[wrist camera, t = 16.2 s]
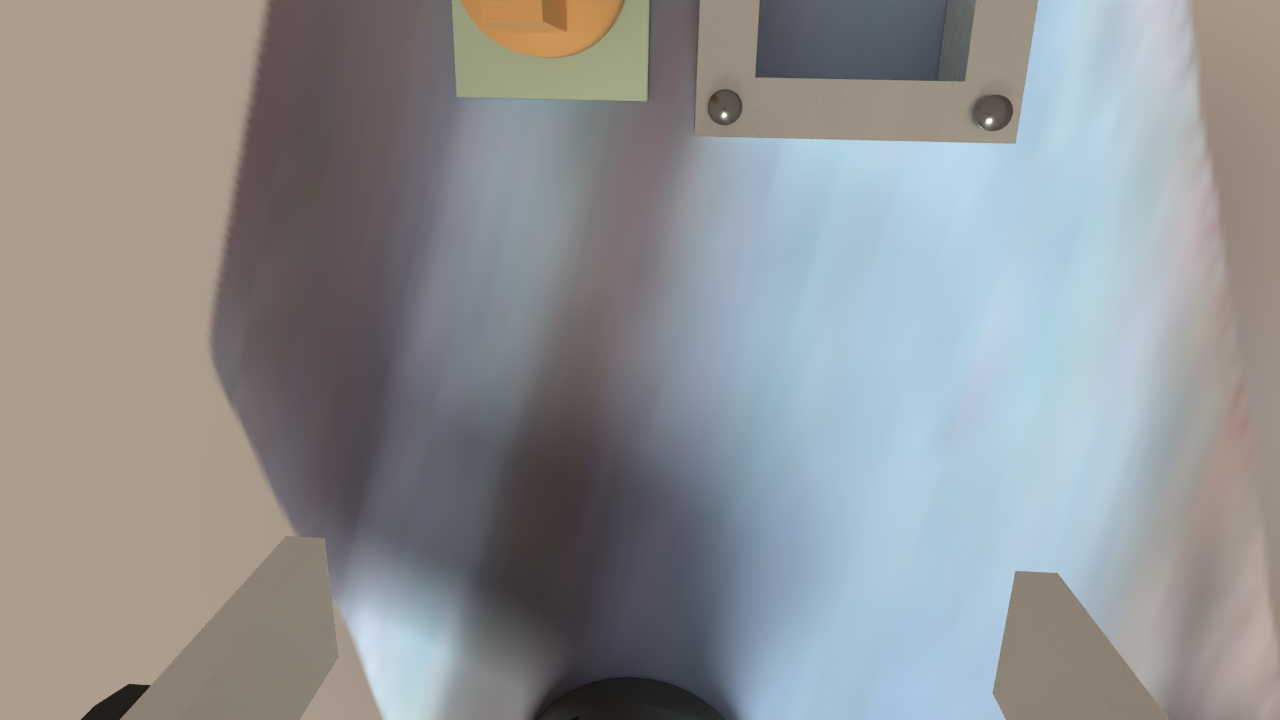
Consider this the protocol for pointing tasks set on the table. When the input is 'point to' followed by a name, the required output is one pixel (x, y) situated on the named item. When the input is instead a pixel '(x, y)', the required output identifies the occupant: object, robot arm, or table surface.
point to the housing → (869, 83)
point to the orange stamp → (545, 24)
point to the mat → (556, 63)
